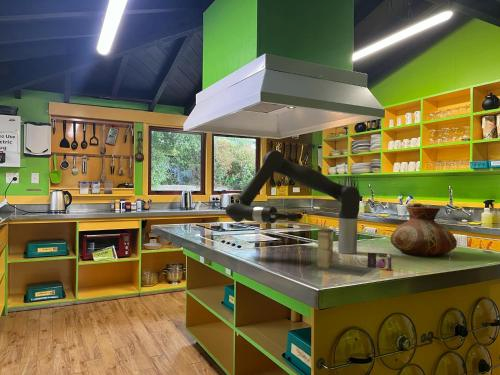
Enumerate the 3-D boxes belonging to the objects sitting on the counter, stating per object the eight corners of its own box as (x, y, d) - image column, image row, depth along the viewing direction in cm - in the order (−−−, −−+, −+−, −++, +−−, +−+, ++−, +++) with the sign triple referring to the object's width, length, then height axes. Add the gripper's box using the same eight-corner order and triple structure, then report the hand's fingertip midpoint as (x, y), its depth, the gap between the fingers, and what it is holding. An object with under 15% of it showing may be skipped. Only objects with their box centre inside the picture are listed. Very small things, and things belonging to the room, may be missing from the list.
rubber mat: (319, 262, 163) (319, 261, 163) (374, 270, 150) (374, 268, 150) (303, 269, 150) (303, 267, 150) (361, 278, 137) (361, 276, 137)
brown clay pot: (470, 257, 179) (471, 205, 179) (419, 261, 170) (420, 205, 170) (423, 247, 208) (424, 202, 208) (377, 249, 199) (378, 202, 198)
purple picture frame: (367, 252, 153) (391, 253, 151) (367, 254, 158) (390, 255, 156) (367, 268, 151) (391, 270, 149) (367, 270, 156) (390, 272, 153)
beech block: (323, 264, 157) (324, 228, 157) (332, 265, 154) (333, 229, 154) (317, 266, 152) (318, 229, 152) (326, 268, 150) (327, 230, 149)
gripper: (256, 206, 164) (291, 208, 154) (273, 205, 175) (306, 207, 166) (256, 224, 164) (291, 227, 154) (272, 221, 175) (306, 224, 166)
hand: (298, 216), depth 160 cm, fingers open, 4 cm apart
